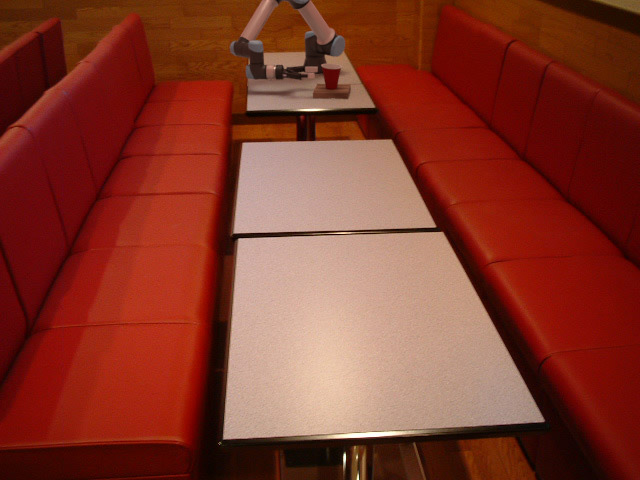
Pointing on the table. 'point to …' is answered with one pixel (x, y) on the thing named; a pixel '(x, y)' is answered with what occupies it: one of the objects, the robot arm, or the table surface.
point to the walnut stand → (332, 91)
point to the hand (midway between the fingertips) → (316, 72)
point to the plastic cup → (331, 75)
